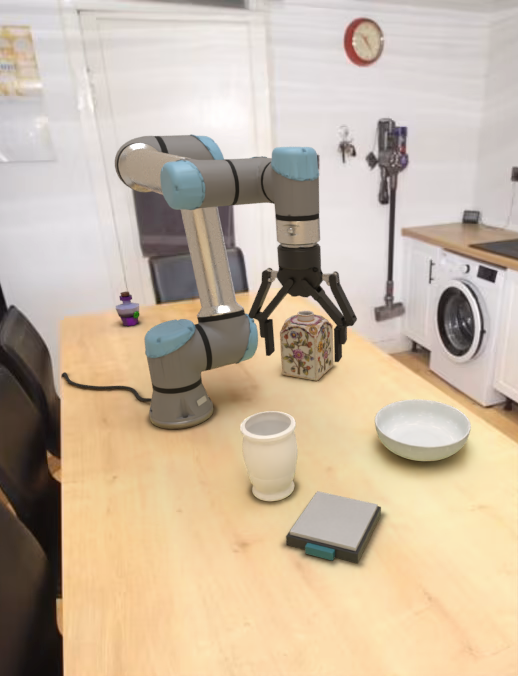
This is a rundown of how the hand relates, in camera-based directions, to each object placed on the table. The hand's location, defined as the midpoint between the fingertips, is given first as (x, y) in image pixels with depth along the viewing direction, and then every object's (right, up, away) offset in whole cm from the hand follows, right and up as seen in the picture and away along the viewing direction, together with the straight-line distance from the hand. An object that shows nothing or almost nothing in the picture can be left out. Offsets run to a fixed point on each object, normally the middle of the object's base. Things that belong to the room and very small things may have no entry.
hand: (303, 356), depth 103 cm
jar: (-6, -26, +4) cm, 27 cm away
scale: (+6, -31, -7) cm, 33 cm away
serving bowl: (+25, -20, +18) cm, 36 cm away
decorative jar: (-4, -2, +56) cm, 56 cm away
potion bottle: (-72, +17, +95) cm, 121 cm away
